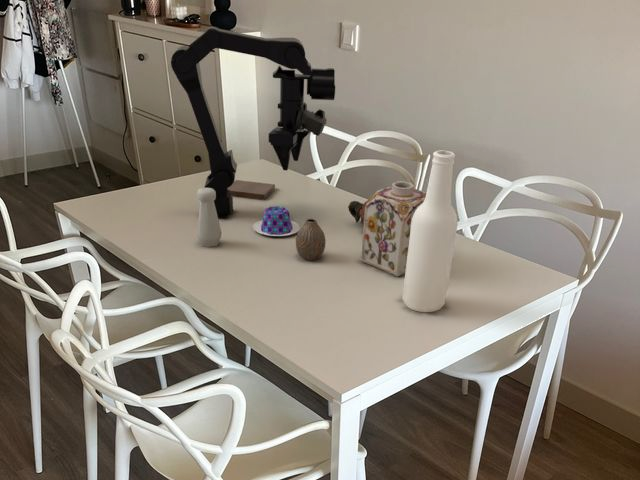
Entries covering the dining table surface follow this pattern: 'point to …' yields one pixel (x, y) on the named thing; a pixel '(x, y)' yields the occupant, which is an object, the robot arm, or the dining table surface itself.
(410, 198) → the decorative jar
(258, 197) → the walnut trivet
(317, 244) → the vase
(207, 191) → the salt shaker
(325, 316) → the dining table surface
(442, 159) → the alcohol
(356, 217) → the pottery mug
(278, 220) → the pudding
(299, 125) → the robot arm
